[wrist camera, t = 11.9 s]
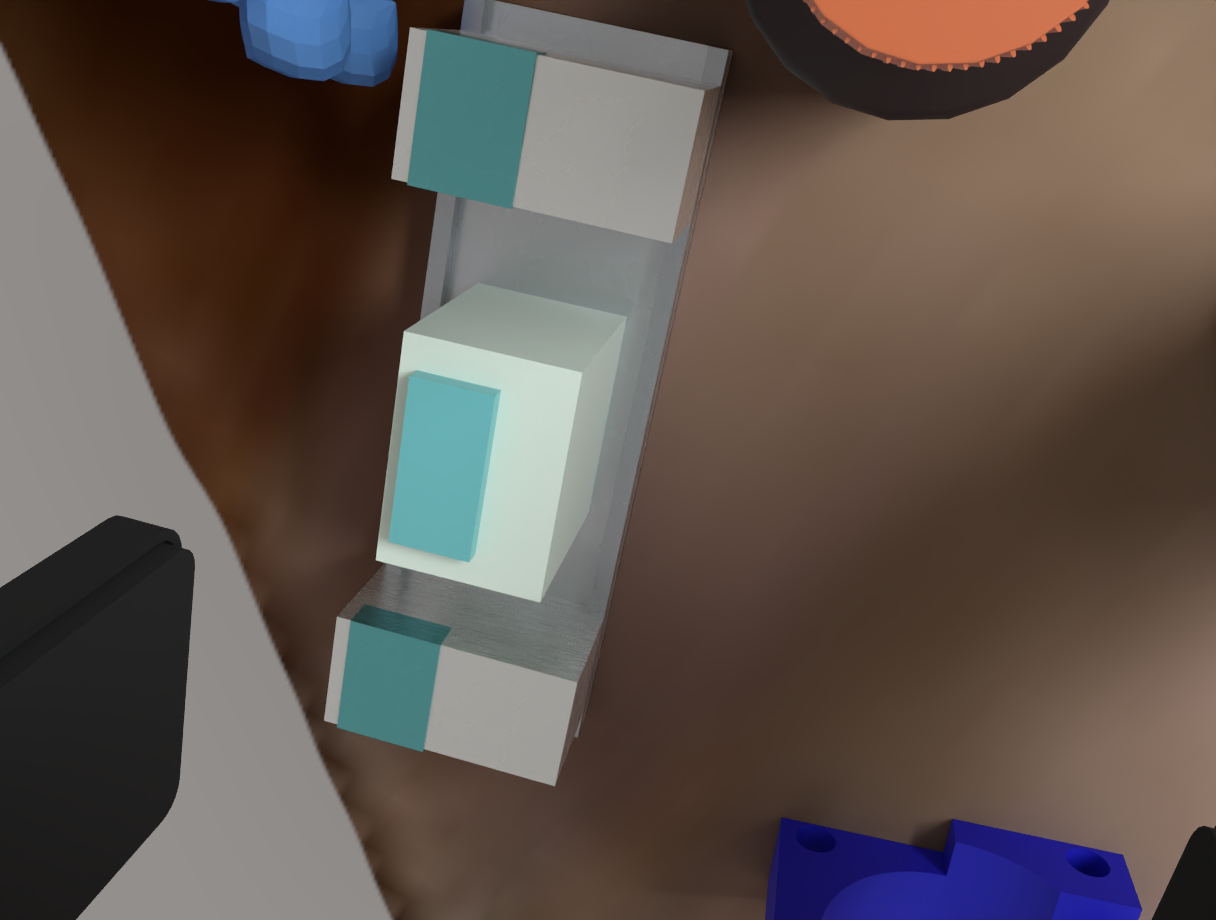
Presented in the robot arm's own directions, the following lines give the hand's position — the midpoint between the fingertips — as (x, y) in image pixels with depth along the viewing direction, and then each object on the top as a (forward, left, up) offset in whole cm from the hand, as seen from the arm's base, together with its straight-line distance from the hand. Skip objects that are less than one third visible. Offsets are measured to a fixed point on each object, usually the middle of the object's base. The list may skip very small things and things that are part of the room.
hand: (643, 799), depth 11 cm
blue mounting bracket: (-11, +20, -29) cm, 37 cm away
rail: (+7, +6, -28) cm, 30 cm away
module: (+7, +6, -27) cm, 29 cm away
